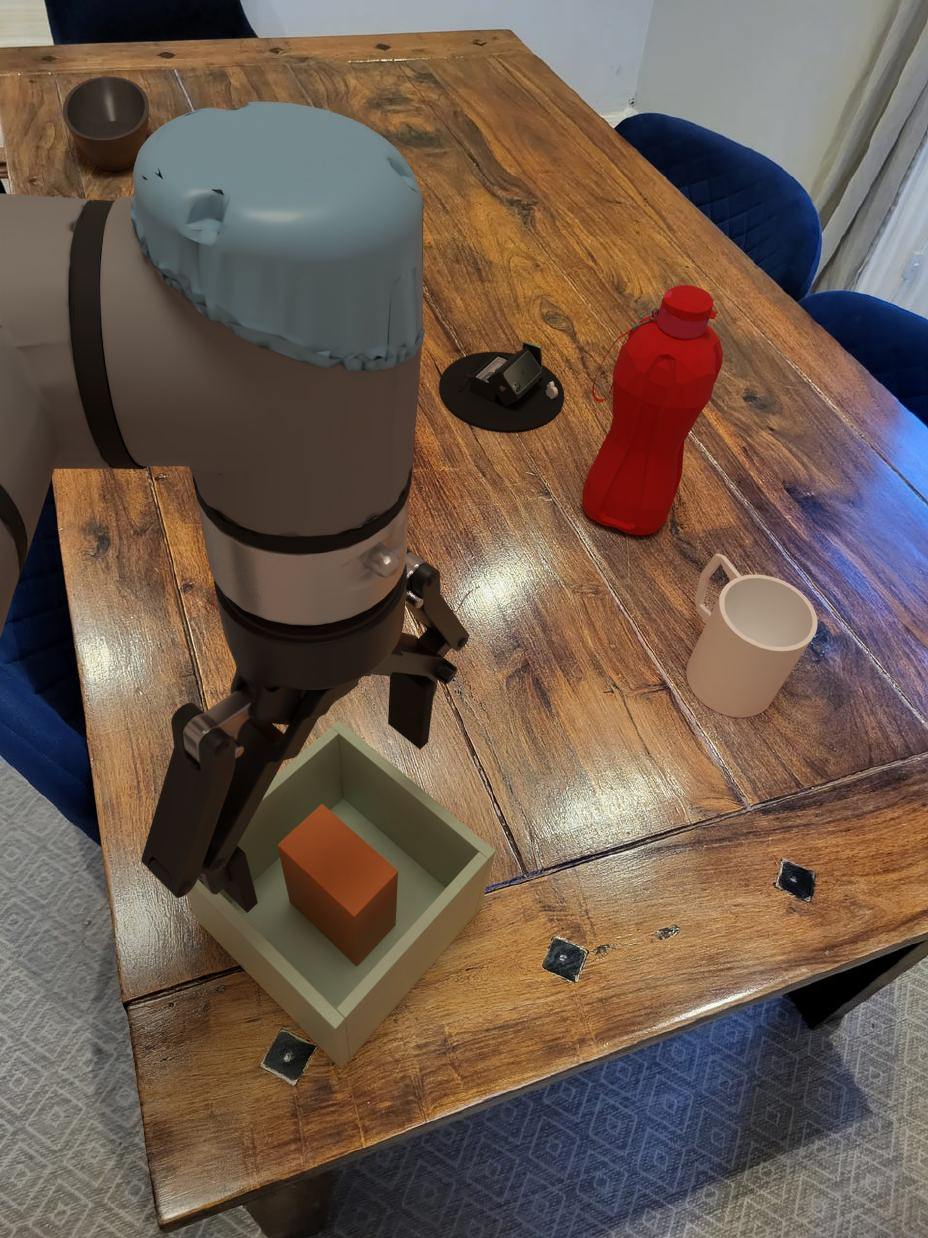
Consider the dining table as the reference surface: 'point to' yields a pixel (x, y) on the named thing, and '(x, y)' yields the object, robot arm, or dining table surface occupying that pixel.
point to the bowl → (108, 120)
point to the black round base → (502, 390)
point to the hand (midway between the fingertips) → (327, 807)
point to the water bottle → (654, 412)
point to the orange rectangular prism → (339, 883)
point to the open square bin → (426, 894)
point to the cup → (747, 640)
